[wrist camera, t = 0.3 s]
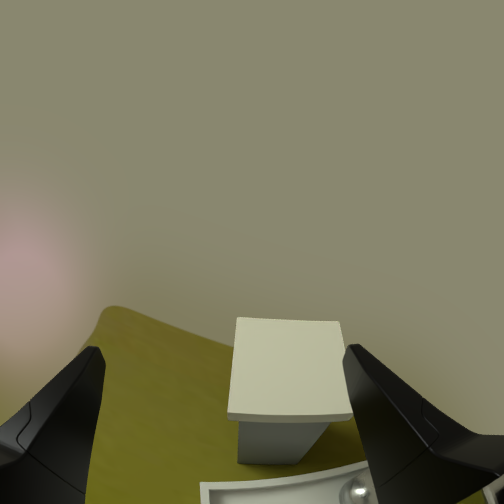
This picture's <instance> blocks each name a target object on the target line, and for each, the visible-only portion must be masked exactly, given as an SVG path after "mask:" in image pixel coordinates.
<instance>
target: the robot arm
mask: <svg viewBox="0 0 504 504" xmlns="http://www.w3.org/2000/svg"><path fill="white" fill-rule="evenodd" d="M342 365H343V371H344V376H345V381H346V386H347V392H348V397H349V401H350V404H351V408H352V411H353V414H354V418H355V421H356V424H357V427H358V431H359V434H360V438H361V441H362V444H363V448H364V451H365V455H366V458H367V462H368V466H369V469H370V473H371V477H372V480H373V484H374V488H375V492H376V496H377V500H378V504H504V435H481V434H477V433H474V432H472V431H470V430H468V429H467V428H465V427H464V426H462V425H460V424H459V423H457V422H456V421H454V420H453V419H451V418H450V417H448V416H447V415H445V414H444V413H443V412H441V411H440V410H439V409H437V408H436V407H435V406H433V405H432V404H431V403H430V402H428V401H427V400H426V399H425V398H422V396H421V395H420V394H419V393H418V392H416V391H415V390H414V389H413V388H411V387H410V386H409V385H408V384H407V383H405V382H404V381H403V380H402V379H401V378H399V377H398V376H397V375H396V374H395V373H393V372H392V371H391V370H390V369H389V368H387V367H386V366H385V365H384V364H382V363H381V362H380V361H379V360H378V359H377V358H375V357H374V356H373V355H372V354H371V353H369V352H368V351H367V350H366V349H365V348H363V347H362V346H361V345H360V344H351V345H348V346H347V349H346V351H345V354H344V357H343V360H342ZM105 368H106V363H105V360H104V358H103V355H102V353H101V351H100V349H99V347H96V346H88V347H86V348H85V349H84V350H83V351H82V352H81V353H80V354H79V355H78V356H76V357H75V358H74V359H73V360H72V361H71V362H70V363H69V364H68V365H67V366H66V367H64V368H63V370H61V371H60V372H59V373H58V374H57V375H56V376H55V377H54V378H53V379H52V380H51V381H50V382H48V383H47V384H46V385H45V386H44V387H43V388H42V389H41V390H40V391H39V392H38V393H37V394H36V395H35V396H34V397H33V398H32V399H31V400H30V401H29V402H27V403H26V404H25V406H23V407H22V408H21V409H20V410H19V411H18V412H17V413H16V414H15V415H14V416H12V417H11V418H10V419H9V420H8V421H6V422H5V423H4V424H3V425H1V426H0V504H85V494H86V485H87V478H88V471H89V464H90V458H91V451H92V446H93V440H94V435H95V430H96V425H97V420H98V415H99V410H100V406H101V400H102V392H103V383H104V375H105Z"/></svg>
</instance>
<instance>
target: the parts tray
mask: <svg viewBox="0 0 504 504" xmlns="http://www.w3.org/2000/svg"><path fill="white" fill-rule="evenodd" d="M367 470H370V469H369V466H368V462H367V460H366V461H362V462H358V463H355V464H351V465H347V466H343V467H338V468H334V469H330V470H325V471H320V472H315V473H309V474H303V475H297V476H290V477H283V478H275V479H265V480H254V481H239V482H200V494H201V504H340V502H339V493H340V490H341V488H342V486H343V485H344V484H345V483H346V482H347V481H349V480H350V479H352V478H354V477H356V476H358V475H359V474H361V473H363V472H365V471H367Z"/></svg>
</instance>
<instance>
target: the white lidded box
mask: <svg viewBox="0 0 504 504" xmlns="http://www.w3.org/2000/svg"><path fill="white" fill-rule="evenodd" d="M344 354H345V349H344V343H343V338H342V333H341V329H340V325H339V322H338V321H302V320H279V319H260V318H244V317H237V325H236V334H235V344H234V353H233V363H232V373H231V383H230V393H229V403H228V420H232V421H239V435H238V461H237V463H245V464H297V463H298V462H299V461H300V460H301V459H302V457H303V456H304V455H305V454H306V453H307V452H308V450H309V449H310V448H311V447H312V446H313V444H314V443H315V442H316V441H317V440H318V438H319V437H320V436H321V435H322V433H323V432H324V431H325V429H326V428H327V427H328V426H329V424H330V423H331V422H336V421H349V420H350V419H351V418H352V416H353V415H354V414H353V411H352V408H351V404H350V401H349V397H348V392H347V386H346V381H345V376H344V371H343V365H342V360H343V357H344Z"/></svg>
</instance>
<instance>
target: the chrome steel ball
mask: <svg viewBox="0 0 504 504" xmlns="http://www.w3.org/2000/svg"><path fill="white" fill-rule="evenodd" d="M339 502H340V504H378V500H377V496H376V492H375V488H374V484H373V480H372V477H371V473H370V470H367V471H365V472H363V473H361V474H359V475H358V476H356V477H354V478H352V479H350V480H349V481H347V482H346V483H345V484H344V485H343V486H342V488H341V490H340V493H339Z"/></svg>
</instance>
